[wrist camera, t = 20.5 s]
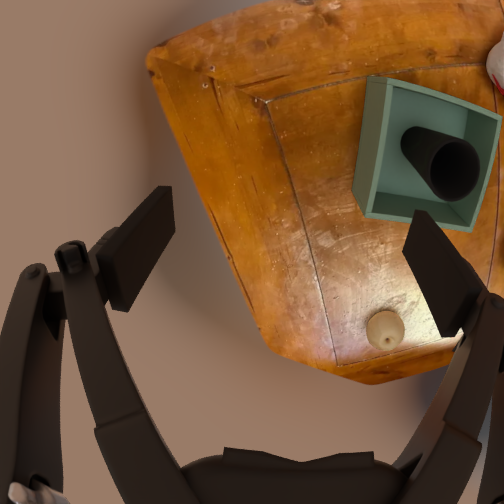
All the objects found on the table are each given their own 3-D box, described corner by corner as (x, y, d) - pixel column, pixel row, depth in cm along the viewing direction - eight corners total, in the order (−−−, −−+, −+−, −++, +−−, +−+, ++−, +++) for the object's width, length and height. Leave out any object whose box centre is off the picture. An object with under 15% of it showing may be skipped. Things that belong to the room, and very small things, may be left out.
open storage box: (367, 76, 34) (387, 77, 26) (469, 105, 33) (502, 116, 25) (351, 190, 44) (364, 217, 36) (446, 205, 42) (471, 232, 35)
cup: (383, 149, 38) (415, 178, 28) (411, 108, 34) (451, 124, 24) (420, 178, 40) (456, 213, 30) (447, 140, 36) (490, 166, 26)
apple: (381, 339, 60) (370, 361, 54) (367, 309, 60) (354, 329, 54) (412, 330, 55) (405, 353, 49) (399, 299, 55) (390, 319, 49)
